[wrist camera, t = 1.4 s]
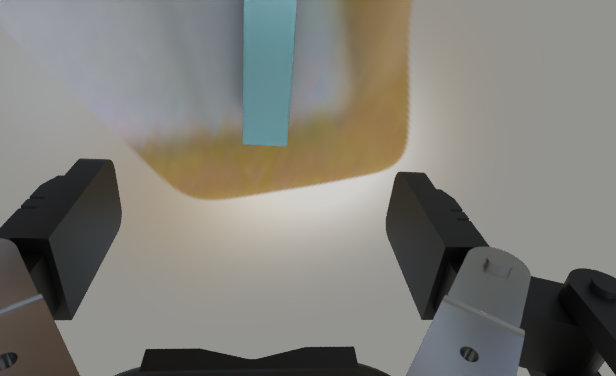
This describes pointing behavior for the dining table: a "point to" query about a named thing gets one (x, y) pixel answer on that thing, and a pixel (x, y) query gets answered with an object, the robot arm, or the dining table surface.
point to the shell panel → (267, 70)
